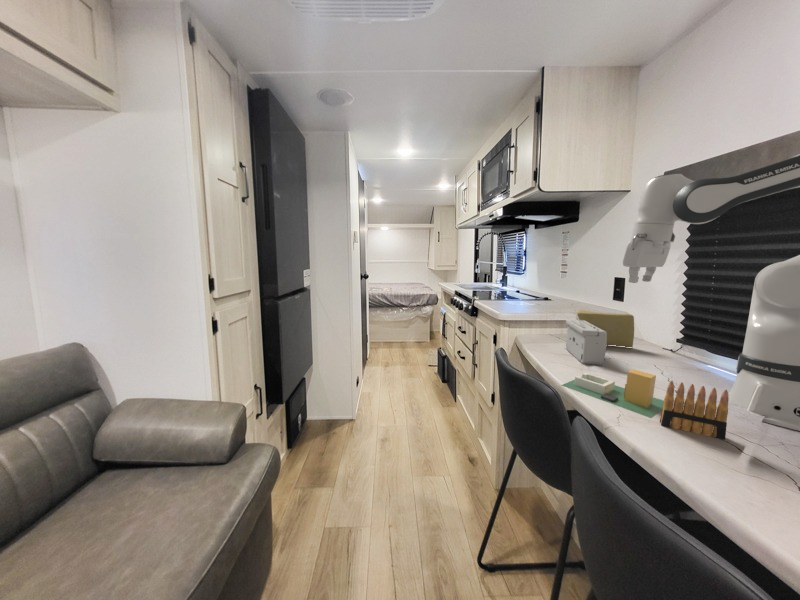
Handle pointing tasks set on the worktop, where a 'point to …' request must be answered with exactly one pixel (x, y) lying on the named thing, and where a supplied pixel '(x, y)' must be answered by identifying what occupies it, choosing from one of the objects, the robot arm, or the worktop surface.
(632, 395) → the yellow rectangular block
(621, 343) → the olive rectangular block
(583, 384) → the board
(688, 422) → the ammunition clip
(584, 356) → the stereo radio cassette player
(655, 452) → the worktop surface
